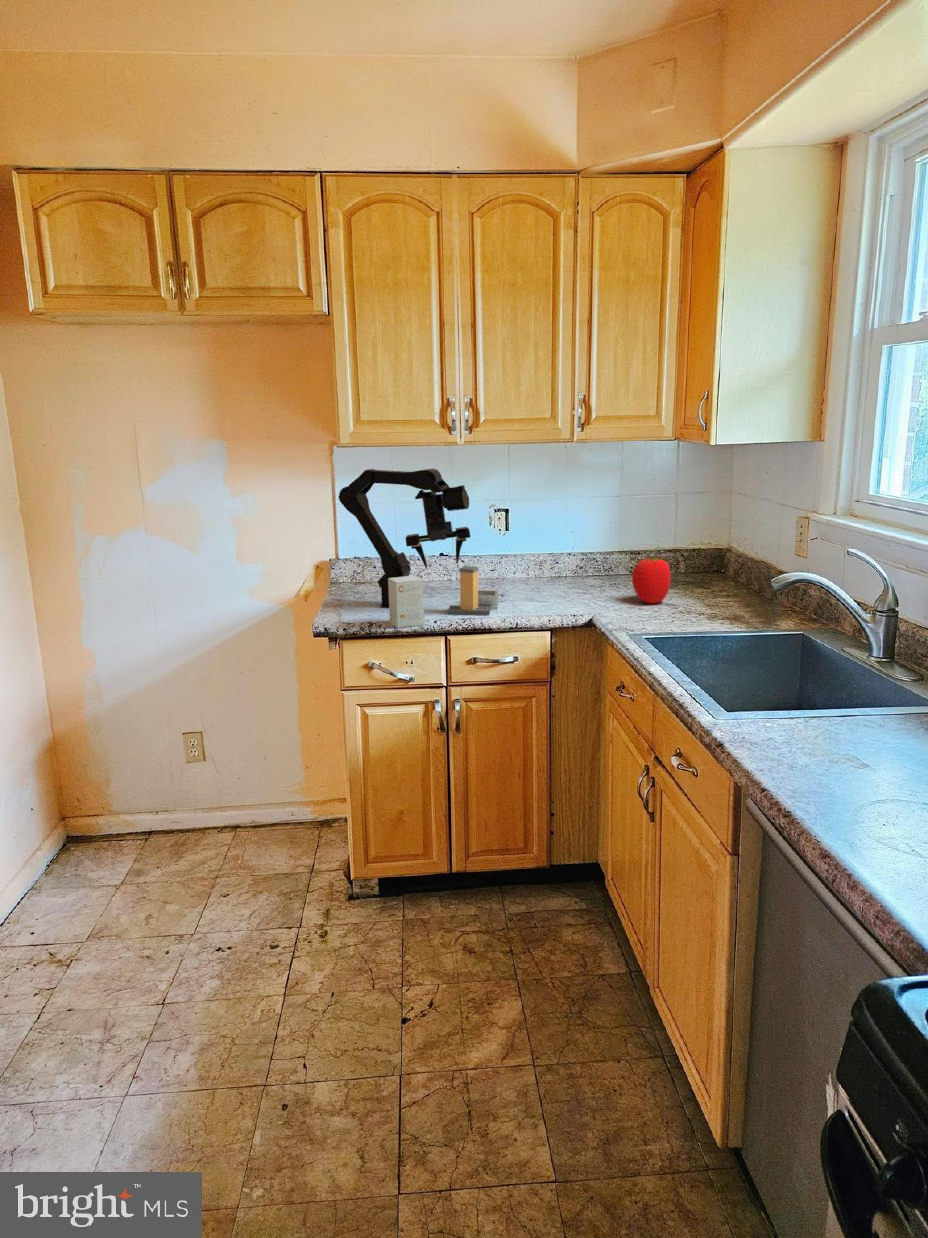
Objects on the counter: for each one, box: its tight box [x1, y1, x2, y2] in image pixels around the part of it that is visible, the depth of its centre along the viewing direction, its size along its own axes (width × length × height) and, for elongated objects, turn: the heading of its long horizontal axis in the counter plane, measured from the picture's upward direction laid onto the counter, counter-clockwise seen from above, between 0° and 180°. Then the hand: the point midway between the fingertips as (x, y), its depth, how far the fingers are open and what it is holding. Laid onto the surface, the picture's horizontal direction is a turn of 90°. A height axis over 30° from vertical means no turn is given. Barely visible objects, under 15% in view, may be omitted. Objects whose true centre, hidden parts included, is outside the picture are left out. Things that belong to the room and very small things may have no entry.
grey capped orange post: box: [459, 565, 479, 610], centre depth 243 cm, size 4×4×12 cm
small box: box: [388, 575, 425, 629], centre depth 230 cm, size 8×6×13 cm
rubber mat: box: [447, 604, 492, 616], centre depth 245 cm, size 12×6×1 cm, turn 84°
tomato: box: [631, 555, 672, 604], centre depth 254 cm, size 13×11×14 cm
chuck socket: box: [478, 589, 500, 610], centre depth 252 cm, size 8×8×4 cm
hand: (441, 565), depth 246 cm, fingers open, 9 cm apart
